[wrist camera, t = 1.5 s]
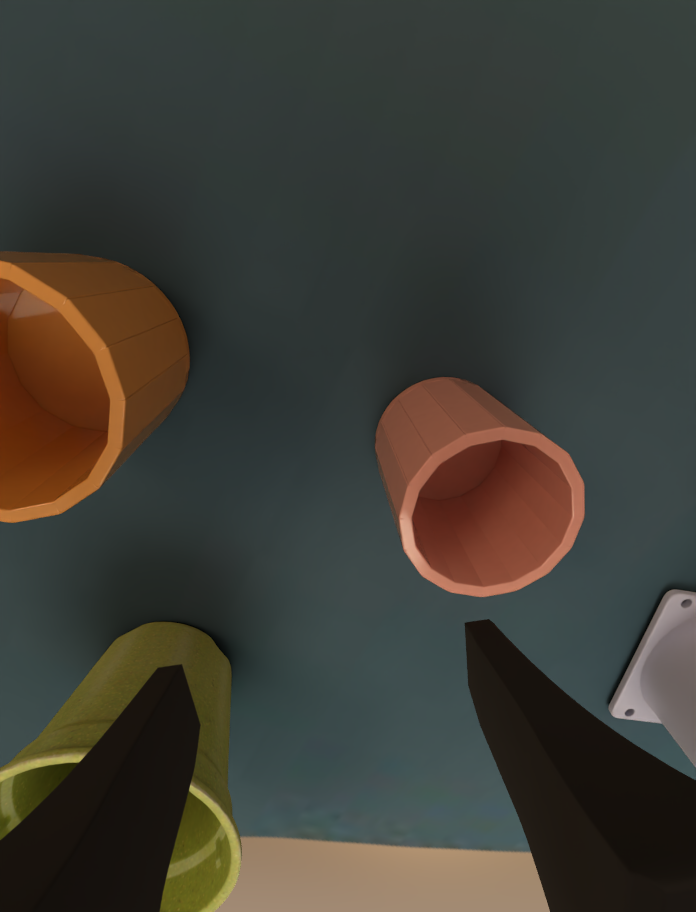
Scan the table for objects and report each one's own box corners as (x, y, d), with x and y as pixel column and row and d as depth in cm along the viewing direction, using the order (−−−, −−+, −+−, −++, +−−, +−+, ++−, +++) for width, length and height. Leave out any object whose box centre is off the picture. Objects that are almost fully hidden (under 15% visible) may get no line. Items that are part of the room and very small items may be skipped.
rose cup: (522, 391, 21) (613, 448, 15) (482, 510, 23) (547, 607, 17) (392, 364, 21) (428, 411, 14) (361, 489, 23) (380, 582, 16)
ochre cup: (200, 279, 19) (134, 289, 12) (180, 448, 21) (115, 539, 14) (5, 236, 18) (-187, 220, 11) (6, 417, 21) (-154, 498, 14)
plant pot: (61, 728, 26) (-51, 937, 18) (74, 572, 23) (-55, 739, 15) (245, 751, 28) (217, 955, 19) (281, 606, 24) (264, 778, 16)
